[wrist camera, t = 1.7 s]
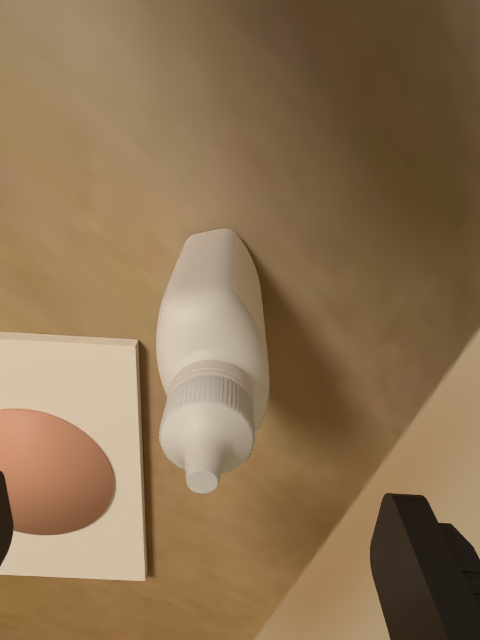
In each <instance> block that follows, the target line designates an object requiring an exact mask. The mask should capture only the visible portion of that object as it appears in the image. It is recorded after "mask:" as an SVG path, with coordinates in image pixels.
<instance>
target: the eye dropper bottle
mask: <svg viewBox="0 0 480 640" xmlns="http://www.w3.org/2000/svg"><path fill="white" fill-rule="evenodd" d="M156 351H157V361H158V368H159V373H160V377H161V381H162V384H163V387H164V390H165V393H166V395H167V401H166V405H165V409H164V413H163V417H162V421H161V425H160V429H159V440H160V444H161V448H162V449H163V452H164V453H165V455H166V456H167V458H168V459H170V461H171V462H173V463H174V464H175V465H176V466H178V467H179V468H181V469H183V470H185V471H186V480H187V485H188V487H189V488H190V489H191V490H192V491H194V492H196V493H199V494H207V493H210V492H212V491H214V490H215V489H216V487H217V485H218V482H219V479H220V476H221V474H222V473H226V472H229V471H231V470H233V469H235V468H236V467H238V466H240V465H241V464H242V463H243V462H244V461H246V459H247V458H248V457H249V455H250V454H251V451H252V450H253V447H254V443H255V432H256V431H257V430H258V429H259V428H260V426H261V424H262V421H263V419H264V416H265V413H266V409H267V404H268V398H269V387H270V383H269V365H268V354H267V344H266V334H265V324H264V314H263V305H262V295H261V287H260V282H259V277H258V274H257V270H256V268H255V265H254V262H253V260H252V258H251V256H250V254H249V252H248V250H247V248H246V246H245V245H244V243H243V242H242V240H241V239H240V237H239V236H238V235H237V234H236V233H235V232H234V231H232V230H231V229H217V230H212V231H207V232H202V233H198V234H194V235H192V236H190V237H188V239H187V241H186V242H185V244H184V246H183V249H182V251H181V254H180V256H179V258H178V261H177V263H176V266H175V268H174V271H173V273H172V276H171V278H170V281H169V283H168V286H167V288H166V291H165V294H164V297H163V300H162V303H161V307H160V311H159V317H158V323H157V335H156Z"/></svg>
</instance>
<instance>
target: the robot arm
mask: <svg viewBox="0 0 480 640" xmlns="http://www.w3.org/2000/svg"><path fill="white" fill-rule="evenodd" d="M13 528H14V524H13V517H12V512H11V507H10V502H9V496H8V491H7V486H6V481H5V476H4V474H3V472H2V471H0V566H1V564H2V563H3V561H4V559H5V557H6V555H7V553H8V550H9V548H10V545H11V541H12V537H13ZM370 563H371V570H372V575H373V579H374V582H375V586H376V590H377V593H378V596H379V600H380V604H381V607H382V611H383V614H384V618H385V621H386V625H387V628H388V632H389V635H390V639H391V640H480V559H479V557H478V555H477V553H476V552H475V550H474V548H473V546H472V545H471V544H470V543H469V542H468V541H467V540H466V539H465V538H464V537H463V536H462V535H461V534H460V533H459V531H458V530H457V529H456V528H455V527H454V526H453V525H452V524H447V523H438V521H437V519H436V517H435V515H434V513H433V511H432V509H431V507H430V505H429V503H428V501H427V499H426V498H425V497H424V496H422V495H410V494H392V493H387V494H385V495H384V497H383V500H382V503H381V507H380V511H379V514H378V518H377V522H376V525H375V529H374V533H373V537H372V540H371V546H370Z"/></svg>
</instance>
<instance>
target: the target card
mask: <svg viewBox="0 0 480 640" xmlns="http://www.w3.org/2000/svg"><path fill="white" fill-rule="evenodd" d="M0 471H2V472H3V474H4V476H5V481H6V486H7V491H8V496H9V502H10V507H11V512H12V517H13V524H14V528H13V537H12V541H11V545H10V548H9V550H8V553H7V555H6V557H5V559H4V561H3V563H2V564H1V566H0V574H1V575H23V576H45V577H67V578H89V579H112V580H134V581H145V580H146V575H147V547H146V521H145V496H144V470H143V445H142V419H141V393H140V368H139V342H138V340H137V339H120V338H102V337H85V336H67V335H49V334H32V333H14V332H0Z"/></svg>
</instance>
